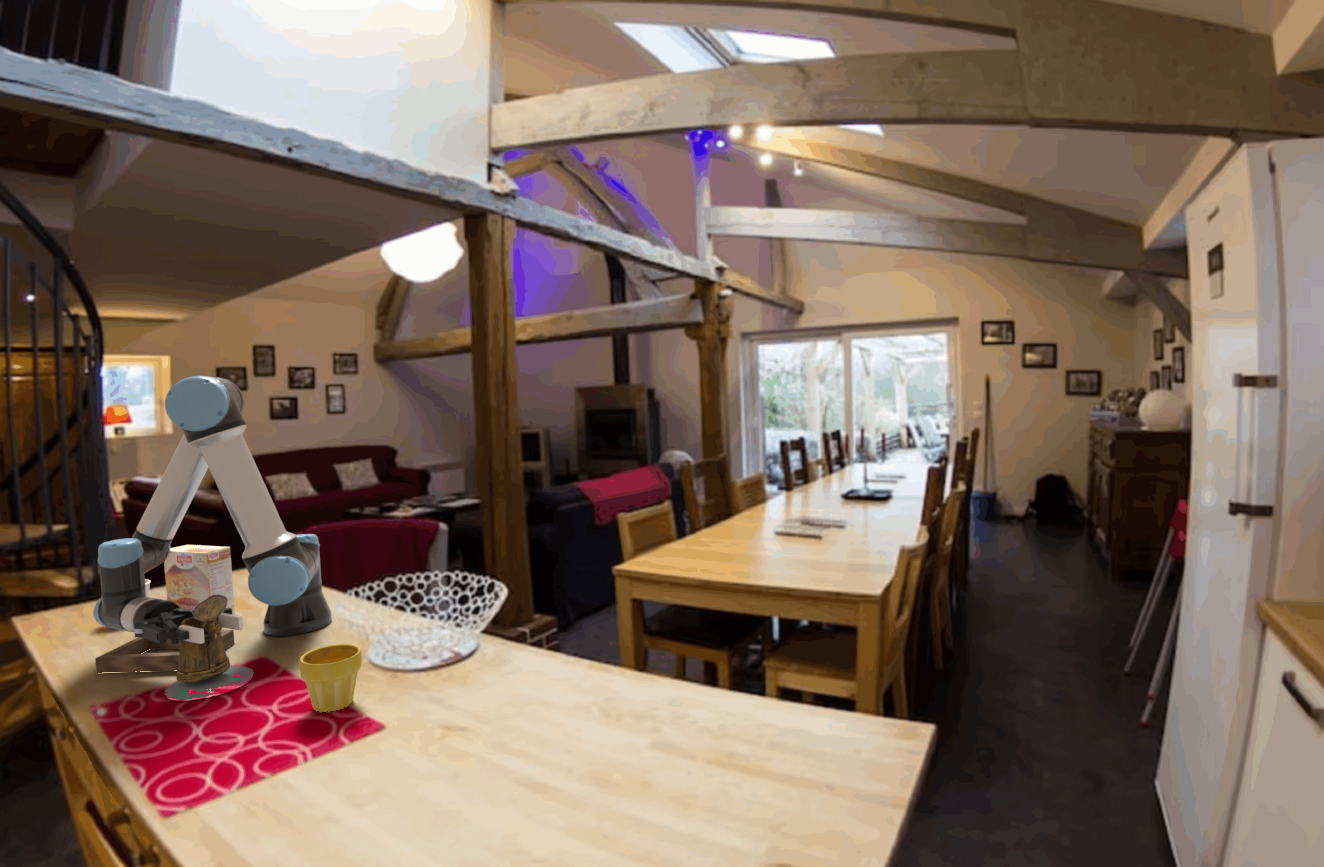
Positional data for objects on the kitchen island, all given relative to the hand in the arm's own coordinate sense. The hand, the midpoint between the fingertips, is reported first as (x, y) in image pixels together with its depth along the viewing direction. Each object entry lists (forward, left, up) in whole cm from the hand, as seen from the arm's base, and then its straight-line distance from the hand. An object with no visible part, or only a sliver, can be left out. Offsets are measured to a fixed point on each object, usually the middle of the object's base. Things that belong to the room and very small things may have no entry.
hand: (221, 629), depth 135 cm
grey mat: (+4, -2, -12) cm, 13 cm away
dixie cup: (+52, -45, -12) cm, 70 cm away
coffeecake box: (+32, -42, -12) cm, 55 cm away
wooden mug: (+5, -2, -10) cm, 11 cm away
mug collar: (+23, -17, -12) cm, 31 cm away
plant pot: (-26, +9, -12) cm, 30 cm away
